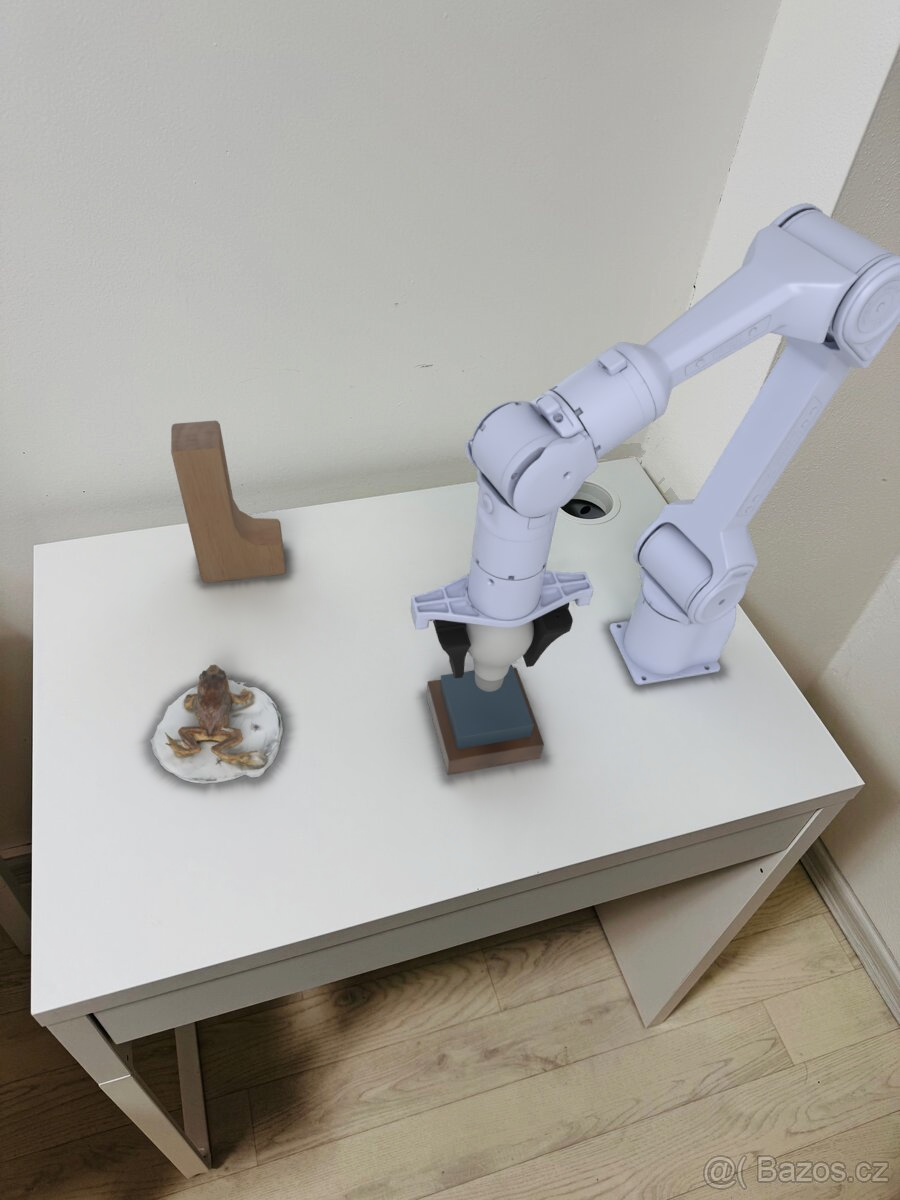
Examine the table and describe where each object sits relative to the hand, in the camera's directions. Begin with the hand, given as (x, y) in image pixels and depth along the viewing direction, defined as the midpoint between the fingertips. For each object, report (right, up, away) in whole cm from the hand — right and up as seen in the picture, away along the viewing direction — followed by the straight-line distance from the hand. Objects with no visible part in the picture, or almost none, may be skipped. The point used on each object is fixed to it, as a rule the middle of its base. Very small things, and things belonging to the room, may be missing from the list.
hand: (492, 663), depth 73 cm
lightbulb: (0, -2, +3) cm, 4 cm away
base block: (-1, -7, +7) cm, 10 cm away
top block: (-1, -5, +6) cm, 8 cm away
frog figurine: (-25, -7, +6) cm, 27 cm away
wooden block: (-27, +9, +20) cm, 34 cm away
